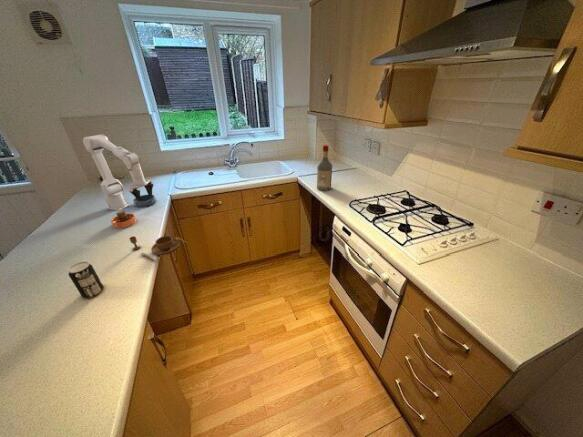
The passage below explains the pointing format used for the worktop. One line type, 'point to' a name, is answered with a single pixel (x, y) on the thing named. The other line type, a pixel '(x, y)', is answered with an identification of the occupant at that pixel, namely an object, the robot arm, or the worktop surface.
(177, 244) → the place setting
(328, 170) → the liquor
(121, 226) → the terracotta bowl
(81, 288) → the beverage can
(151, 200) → the blue bowl
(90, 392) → the worktop surface
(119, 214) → the spice jar
